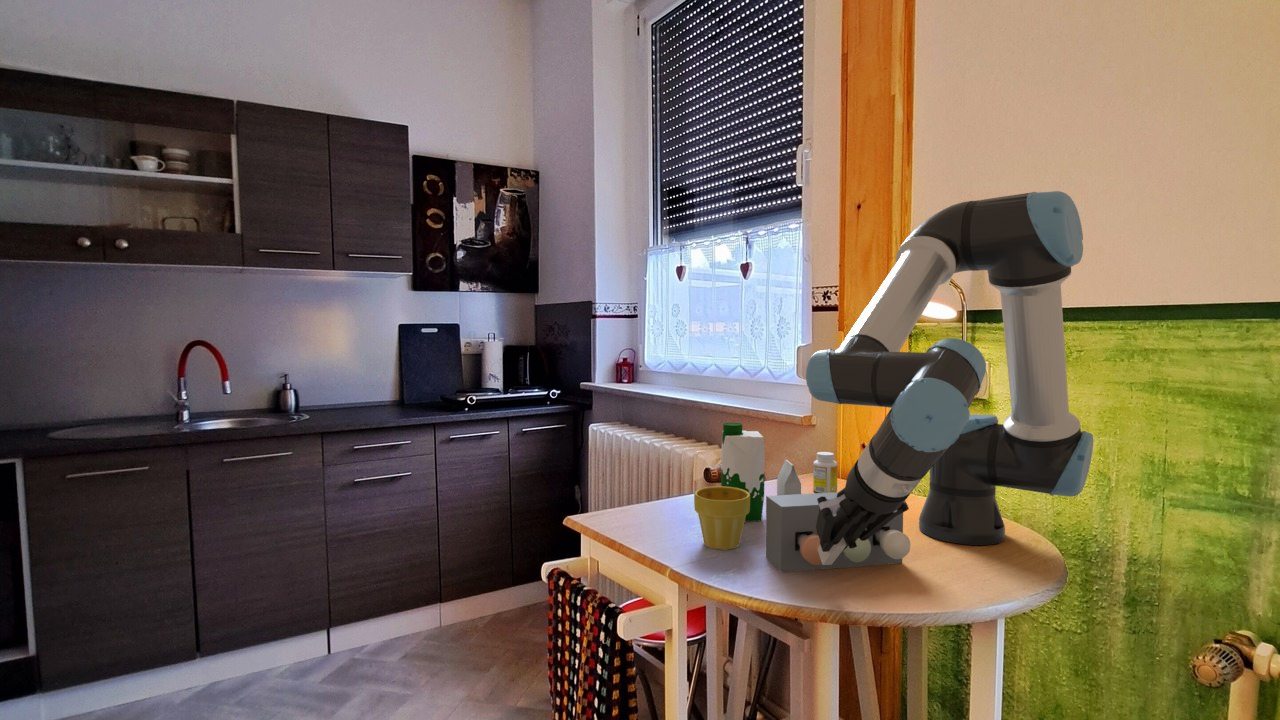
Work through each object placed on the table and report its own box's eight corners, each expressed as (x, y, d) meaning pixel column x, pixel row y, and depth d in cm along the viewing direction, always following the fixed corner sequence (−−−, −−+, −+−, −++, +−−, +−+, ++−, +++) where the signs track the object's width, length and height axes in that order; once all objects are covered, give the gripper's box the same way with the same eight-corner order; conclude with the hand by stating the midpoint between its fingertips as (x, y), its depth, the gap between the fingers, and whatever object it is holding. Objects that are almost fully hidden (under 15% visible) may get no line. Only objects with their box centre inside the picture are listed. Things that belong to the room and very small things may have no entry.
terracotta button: (814, 551, 109) (814, 526, 109) (830, 564, 104) (830, 537, 103) (789, 553, 109) (790, 527, 108) (804, 566, 103) (804, 538, 103)
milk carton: (719, 510, 144) (719, 421, 143) (760, 510, 143) (760, 421, 142) (723, 522, 135) (723, 427, 134) (767, 522, 135) (767, 427, 134)
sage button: (853, 549, 111) (853, 523, 110) (870, 561, 105) (871, 534, 105) (828, 550, 110) (829, 525, 110) (845, 563, 104) (845, 536, 104)
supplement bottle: (834, 492, 159) (835, 451, 158) (839, 498, 153) (839, 455, 153) (811, 492, 159) (811, 450, 159) (815, 498, 154) (815, 455, 153)
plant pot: (747, 555, 116) (748, 501, 115) (690, 551, 118) (690, 498, 117) (751, 537, 126) (751, 487, 125) (698, 533, 128) (698, 484, 127)
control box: (880, 549, 118) (881, 490, 118) (902, 563, 111) (903, 500, 111) (765, 557, 115) (766, 495, 114) (781, 572, 108) (781, 506, 107)
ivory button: (890, 546, 112) (891, 521, 111) (910, 558, 106) (910, 531, 106) (867, 548, 111) (867, 522, 111) (885, 560, 105) (885, 533, 105)
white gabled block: (784, 510, 144) (784, 465, 143) (777, 502, 150) (777, 459, 150) (800, 510, 144) (801, 465, 143) (792, 502, 151) (793, 459, 150)
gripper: (847, 503, 80) (791, 583, 97) (943, 497, 82) (871, 576, 99) (828, 452, 85) (778, 536, 102) (918, 448, 87) (854, 531, 104)
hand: (824, 556), depth 101 cm, fingers closed
